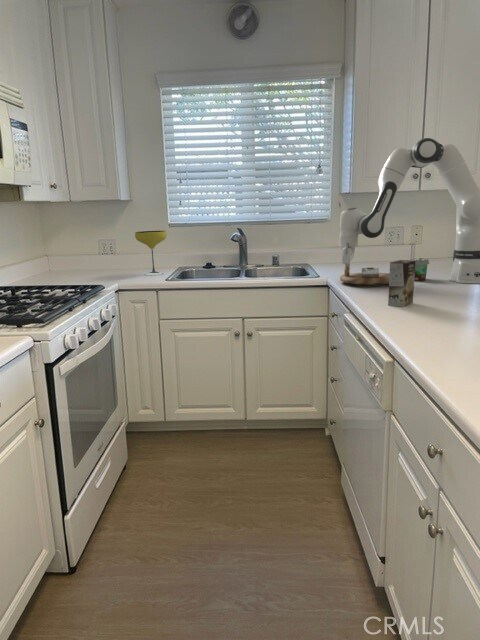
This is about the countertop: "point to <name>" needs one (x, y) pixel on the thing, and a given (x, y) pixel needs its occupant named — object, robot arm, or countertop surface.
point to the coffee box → (401, 283)
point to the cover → (370, 272)
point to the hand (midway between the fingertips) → (347, 271)
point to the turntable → (357, 279)
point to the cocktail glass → (151, 240)
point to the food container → (421, 269)
